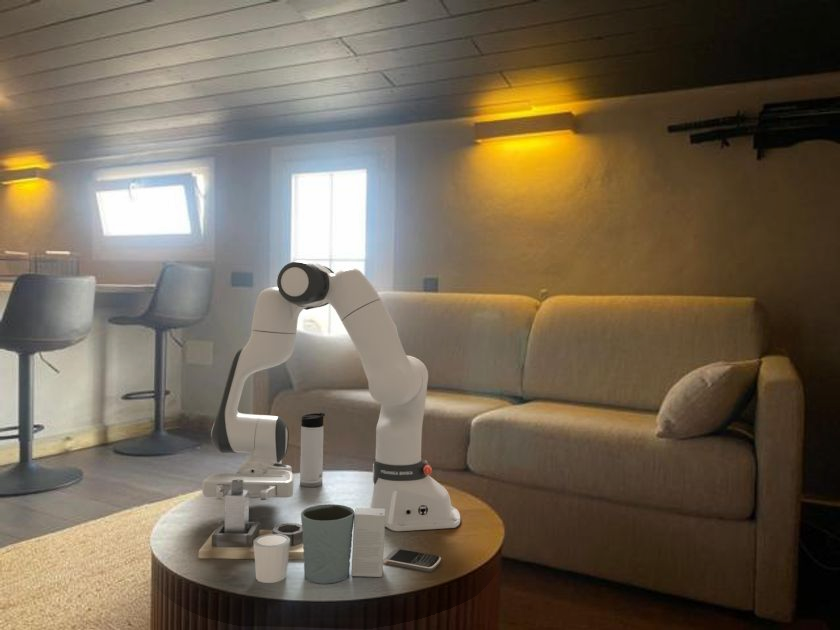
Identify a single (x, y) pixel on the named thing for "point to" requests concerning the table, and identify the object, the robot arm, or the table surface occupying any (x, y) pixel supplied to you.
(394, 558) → the cell phone
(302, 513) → the green cylindrical pot
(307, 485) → the travel mug
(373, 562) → the skincare box
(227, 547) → the socket board
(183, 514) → the table surface
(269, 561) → the white cup
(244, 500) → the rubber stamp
